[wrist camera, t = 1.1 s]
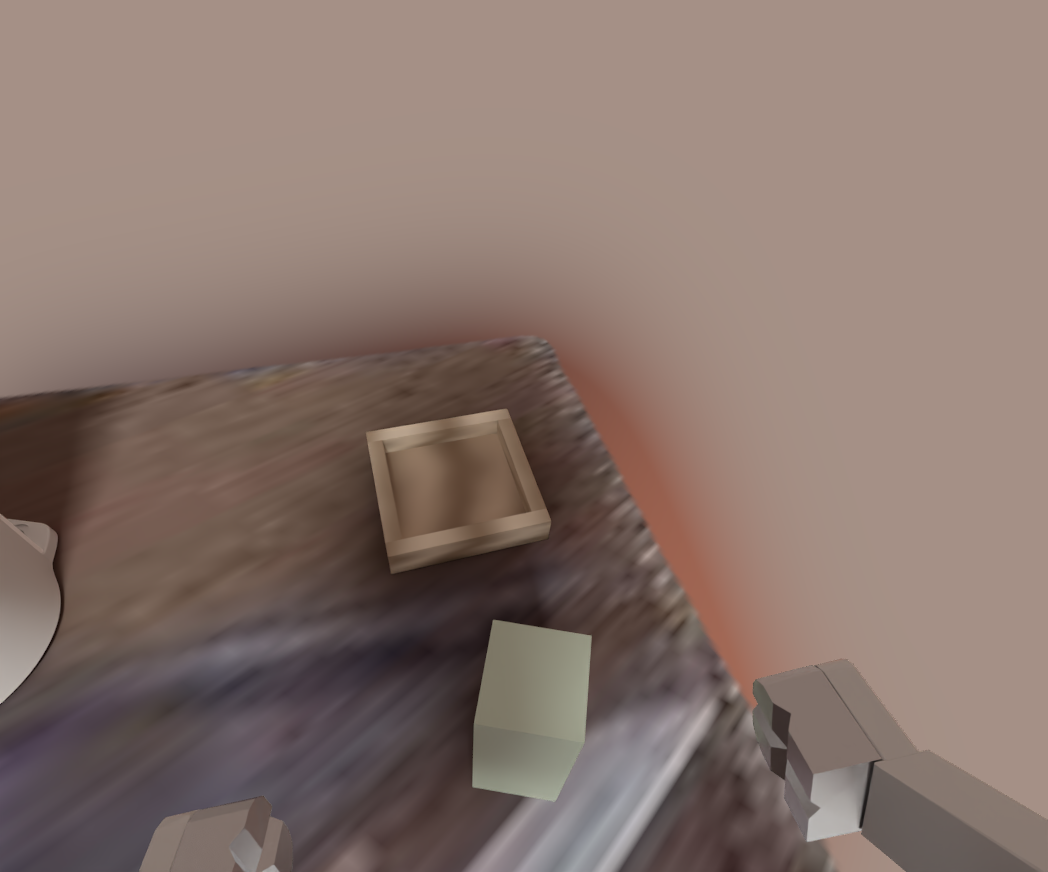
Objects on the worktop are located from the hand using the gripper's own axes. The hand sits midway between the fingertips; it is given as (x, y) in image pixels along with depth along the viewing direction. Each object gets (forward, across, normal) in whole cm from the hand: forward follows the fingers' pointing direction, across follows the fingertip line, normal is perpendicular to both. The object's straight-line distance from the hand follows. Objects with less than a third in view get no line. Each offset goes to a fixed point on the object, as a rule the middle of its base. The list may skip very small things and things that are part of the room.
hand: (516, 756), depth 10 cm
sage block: (+17, +3, +26) cm, 31 cm away
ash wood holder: (+36, +5, +18) cm, 41 cm away
